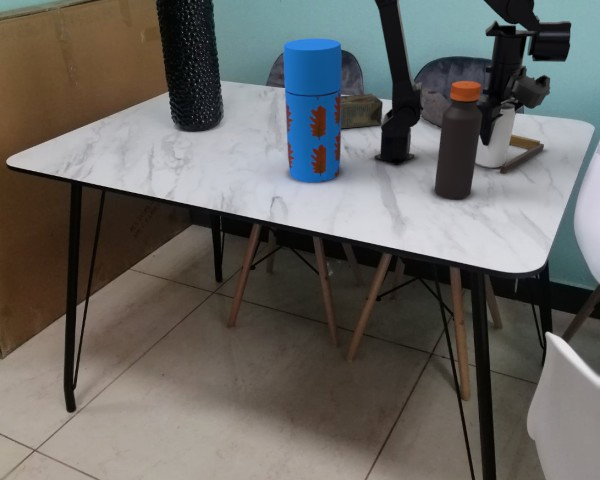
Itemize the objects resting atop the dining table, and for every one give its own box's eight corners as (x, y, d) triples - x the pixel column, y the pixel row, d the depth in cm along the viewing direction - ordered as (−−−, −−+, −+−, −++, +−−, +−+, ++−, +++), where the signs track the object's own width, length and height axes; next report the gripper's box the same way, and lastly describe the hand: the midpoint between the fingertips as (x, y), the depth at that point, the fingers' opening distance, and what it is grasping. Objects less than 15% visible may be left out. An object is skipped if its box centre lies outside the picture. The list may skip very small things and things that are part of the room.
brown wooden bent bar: (504, 173, 116) (506, 164, 115) (461, 161, 122) (462, 152, 121) (542, 150, 126) (544, 141, 125) (501, 140, 132) (502, 132, 130)
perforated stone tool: (458, 130, 138) (462, 101, 134) (438, 133, 137) (441, 103, 133) (431, 112, 150) (434, 85, 146) (413, 115, 149) (415, 87, 145)
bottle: (477, 191, 109) (494, 83, 98) (458, 203, 106) (473, 92, 94) (446, 182, 113) (459, 77, 102) (427, 193, 110) (438, 85, 98)
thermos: (347, 166, 122) (350, 40, 107) (328, 185, 114) (328, 52, 99) (301, 160, 126) (297, 37, 111) (279, 178, 118) (272, 48, 103)
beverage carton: (383, 125, 143) (384, 98, 139) (308, 133, 140) (307, 106, 136) (372, 116, 149) (374, 90, 145) (301, 123, 146) (300, 97, 142)
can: (497, 170, 117) (510, 111, 110) (468, 164, 120) (478, 105, 113) (509, 162, 121) (522, 104, 114) (480, 155, 124) (491, 99, 118)
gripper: (523, 77, 99) (507, 163, 108) (569, 57, 109) (552, 137, 118) (466, 68, 105) (456, 150, 114) (515, 50, 116) (502, 126, 125)
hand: (494, 140), depth 118 cm, fingers closed on can, 6 cm apart
